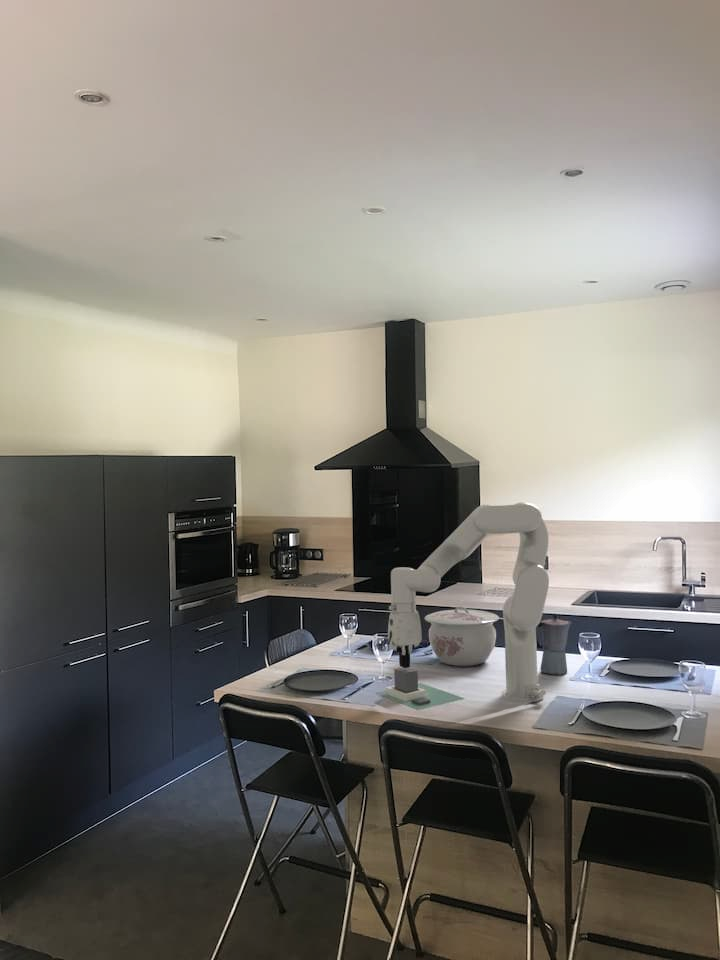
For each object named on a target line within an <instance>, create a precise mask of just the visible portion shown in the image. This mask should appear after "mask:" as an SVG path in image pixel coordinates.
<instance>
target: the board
mask: <svg viewBox="0 0 720 960" xmlns="http://www.w3.org/2000/svg"><path fill="white" fill-rule="evenodd" d="M375 694H377V695H379V696H382V697H383V698H386V699H389V700H392V701H394V702H397V703H399V704H402V705H404V706H407V707H409V708H411V709H415V710H418V711H420V710H424V709H427V708H432V707H436V706H441V705H444V704H449V703H453V702H456V701H457V702H458V701H461V700H465V698H466V697H465V698H464V697H462V696H459V695H457V694H453V693H451V692H448V691H445V690H442V689H439V688H436V687H433V686H431V685H428V684H424V683H422V682H420V683H419V682H418V691H414V692H410V693H403V692H401V691H398V690H395V685H391V686H386V687H385V690H383V691H378V692H375Z"/></svg>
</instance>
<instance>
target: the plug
mask: <svg viewBox="0 0 720 960" xmlns="http://www.w3.org/2000/svg"><path fill="white" fill-rule="evenodd" d="M393 671H394V674H393V675H394V686H395V690H398V691H401V692H403V693H410V692H414V691H418V683H419V679H418V678H419V677H418V675H419V673H418V670H417V669H414V668H411V667H407V668H404V667H398V668H394V669H393Z"/></svg>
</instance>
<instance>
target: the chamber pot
mask: <svg viewBox="0 0 720 960" xmlns="http://www.w3.org/2000/svg"><path fill="white" fill-rule="evenodd" d="M499 619H500V616H499V615H497V614H496V613H493V612H490V611H484V610H478V609H467V608H466V607H464V606H461V605H459V606H457V607H456V608H454V609H447V610H440V611H435V612H432V613H429V614H426V615H425V617H424V620H425V621H426V622H427V623H430V624H431V625H430V628H429V629H428V638H429V639H428V640H429V643H430V647H431V650H432V651H433V652H434V654H435V657H436V659H438V660H439V661H440V662H441V663H444V664H446V665H449V666H452V667H462V668H463V667H464V668H465V666H466V667H474V665H475V666H479V665H481V664H483V663H485V662H487V660H488V659H489V658H490V655H491V654H492V652H493V650H494V648H495V646H496V645H495V644H496V640H497V630H496V628H495V627H494V625H493V623H495V622H497V621H499Z"/></svg>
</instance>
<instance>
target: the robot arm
mask: <svg viewBox="0 0 720 960" xmlns="http://www.w3.org/2000/svg"><path fill="white" fill-rule="evenodd" d="M542 515H543V514H542V512H541V511H540V509H539V508H538V506H536V505H535V504H532V503H530V502H525V501H519V502H517V503H515V504H507V505H506V504H504V505H503V504H502V505H491V504H490V505H489V504H482V505H479V506H478V507H476V508H475V509H474V510H473V511H472V512H471V513H470V514H469V515H468V516H467V517H466V519H464V521H462V523H460V524H459V525H458V527H457V528H456V529H454V531H453V532H452V533H451V534H450V535H449V536H448V537H447V538H446V539H445V540H444V541H443V542H442V543H441V544H440V545H439V546H438V547H437V548H436V549H435V550H434V551H433V552H432V553H431V554H430V555H429V556H428V557H427V558H426V559H425V560H424V561H423V562H422V563H421V564H420V566H419V567H418V568H417V569H414V568H412V567H404V566H403V567H401V566H400V567H395V568H393V569H392V570H391V572H390V587H391V588H390V591H391V599H390V600H391V603H390V604H391V605H389V606H388V610H390V613H389V616H388V617H389V619H388V628H387V639H388V640H387V641H388V644H389V650H391V651H395V652H396V653H397V654H398V655H399V657H398V658H399V660H398V661H399V666H400V668H402V667H404V668H407V667H408V668H411V654H412V653H413V650H414V649H415V648H416V647H418V646H420V643H421V642H422V640H423V639H422V626H421V625H422V624H421V618H420V615H419V614H420V613H419V611H418V610H417V609H416V608H417V606H416V605H417V602H416V599H417V598H416V597H417V595H416V592H421V593H433V592H435V591H437V589H439V587H440V585H441V581H442V580H441V578H443V577H444V575H445V574H446V573H447V572H448V571H449V570H450V569H451V568H452V567H453V566H455V565H456V564H458V563H459V562H460V561H464V560H465V559H467V558H468V557H469V556H470V555H471V554H472V553H473V552H474V551H475V550H476V549H477V548H478V547H479V546H480V545H481V544H482V543H483V542H484V541H485V540H486V539H487V538H488V537H489V536H490V535H500V534H518V533H519V547H518V551H517V552H518V553H517V556H516V560H515V565H514V568H513V572H512V581H513V584H514V585H515V586H514V591H513V594H512V595H510V596H509V597H507V599H506V600H505V601H504V603H503V607H502V617H503V627H504V628H503V629H504V631H503V632H504V653H505V654H504V657H505V686H506V687H505V689H504V690H502V691H501V695H502V696H504V697H506V698H509V699H513V700H517V699H518V700H524V701H525V700H526V701H527V700H535V701H533V703H534V702H535V703H536V702H539V701H542V699H543V698H544V696H546V694H547V691H546V690H544V689H541V684H540V683H538V659H537V658H538V654H537V651H538V650H537V649H538V648H537V641H536V633H537V627H538V624H539V622H541V621H542V617H543V612H544V610H545V608H544V607H545V605H546V599H547V596H548V590H549V584H550V578H549V574H548V571H546V569H545V565H546V560H547V553H548V547H549V531H548V528H547V526H546V523H545V521H544V519H543V516H542Z"/></svg>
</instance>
